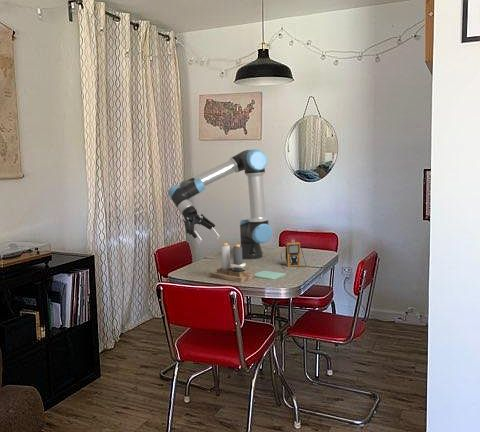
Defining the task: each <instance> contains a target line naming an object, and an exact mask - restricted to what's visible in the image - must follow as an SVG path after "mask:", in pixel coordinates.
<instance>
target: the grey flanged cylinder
mask: <svg viewBox="0 0 480 432" xmlns="http://www.w3.org/2000/svg"><path fill="white" fill-rule="evenodd" d="M240 245H241V243H240V244H237V243H236V244H234V246H233V247H232V254H233V255H232V257H233V259H232V260H233V263H230V268H234V272H243V270H244V267H246V266H247V265H246V264H247V263H245V262H243V258H242V247H240Z"/></svg>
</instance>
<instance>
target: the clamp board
mask: <svg viewBox="0 0 480 432" xmlns="http://www.w3.org/2000/svg"><path fill="white" fill-rule="evenodd" d="M209 275H210V278H212V279H218V280H223V281H224V280H225V281H229V282H236V283H243V282H246V281H250V280H252V279H255V278H256V277H255V273H251V272H250V273H249V270H247V269H243V272H234V267H230V270H227V271H226V270H222V267H221V268H217V269H216V271H214V272H211V273H209Z"/></svg>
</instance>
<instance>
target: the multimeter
mask: <svg viewBox="0 0 480 432" xmlns="http://www.w3.org/2000/svg"><path fill="white" fill-rule="evenodd" d="M296 231H297V232H298V233H299V234H300V236H302V234H301V232H300V231H299V230H297V229H294V232H296ZM288 232H289V233H291V235H293V233H292V232H291V231H290V230H288ZM285 233H287V230H286V231H284V232H283V233H282V237H281V240H280V242H282V240H283V236H284V234H285ZM301 253H302V257H303V260H304V264H305V266H301ZM280 258H281V260H283V259H282V254H280ZM285 260H286V266H287V267H285V269H288V270H289V269H290V270H291V269H293V270H296V269H297V268H305V267H307V263H306V261H305V257H304V252H303V249H302V247H301V242H298V241H296V242H295V239H291V242H286V243H285ZM292 267H294V268H292ZM281 269H284V267H283V264H281Z"/></svg>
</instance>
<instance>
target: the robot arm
mask: <svg viewBox="0 0 480 432" xmlns="http://www.w3.org/2000/svg"><path fill="white" fill-rule="evenodd" d="M267 165H268V158H267V155H266V153H265V152H264V151H262V150H260V149H256V148H254V149H246V150H242V151H240V152H239V153H236V155H233V156H231V157H230V158H229V159H228V160H227V161H225V162H223V163H221V164H218V165H216V166H215V167H212V168H210V169H208V170H206V171H203V172H201V173H198V174H197V175H195V176H193V177H191V178H189V179H186V180H182V181H181V182H180V183H179V184H178V185H173V186H171V187H170V188H169V190H168V191H167V195H168V196H169V198H170V200H171V201H172V203H174V205H175V207H176V208H177V209H178V210H179V212H180V214H181V216H182V217H183V219H182V221H183V223H184V228H185V232H186V234H188V235H189V236H192V238H194V239H195V241H196V242H197V244H199V245H200V244H201V243H202V241H203V240H202V238H201V236H200V235H199V233H198V232H197V230H195V225H201V226H202V227H205V228H206V229H208V230H209V232H210V234H211V235H212V236H213V237H214V239H215V241H217V240H218V239H219V238H220V237H221V235H220V234H219V233H218V232H217V230H216V229H215V227H216V225H215V223H213V222H212V221H211V220H209V219H208V218H207V217H206V216H205V215H204V214H202V213H201V214H200V215H199V213H198V210H197V208H196V207H195V206H194V204H193V203H192V202H191V201H190V199H191V198H193V197H195V196H196V195H199V194H201V193H202V192H203V191H205V190H206V186H209V185H210V184H212V183H214V182H216V181H219V180H221V179H222V178H225V177H227V176H229V175H231V174H233V173H236V174H237V173H239V172H241V171H244V175H245V176H247V186H248V196H249V198H248V199H249V210H250V211H249V212H250V214H249V215H250V218H247V219H241V220H240V222H239V233H240V238H239V239H240V247H242V259H259V258H262V257H263V255H264V253H263V250H262V247H261V244H265V243H267V242H269V241H270V240H271V238H272V235H273V229H272V227H271V226H270V225H269V218H268V217H266V207H265V206H266V205H265V194H264V192H265V191H264V177H263V175H264V174H266V173H265V172H266V170H265V169H266V166H267Z"/></svg>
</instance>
